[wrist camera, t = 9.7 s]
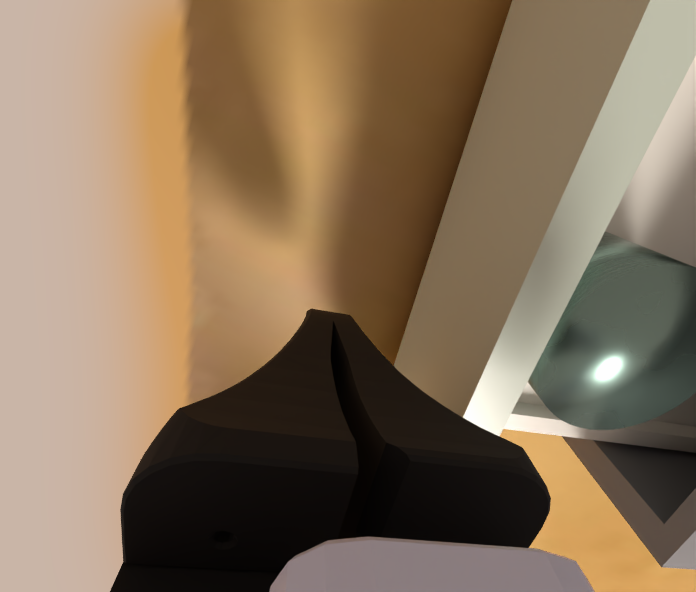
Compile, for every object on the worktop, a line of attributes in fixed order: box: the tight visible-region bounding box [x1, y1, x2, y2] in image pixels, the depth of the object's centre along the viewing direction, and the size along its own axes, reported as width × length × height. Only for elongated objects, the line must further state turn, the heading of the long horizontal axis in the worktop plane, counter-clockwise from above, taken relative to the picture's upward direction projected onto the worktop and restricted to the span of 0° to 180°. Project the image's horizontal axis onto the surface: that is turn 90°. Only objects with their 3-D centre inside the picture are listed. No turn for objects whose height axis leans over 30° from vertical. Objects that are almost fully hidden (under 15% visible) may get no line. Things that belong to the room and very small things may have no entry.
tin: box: [528, 231, 696, 430], centre depth 12 cm, size 5×5×4 cm
